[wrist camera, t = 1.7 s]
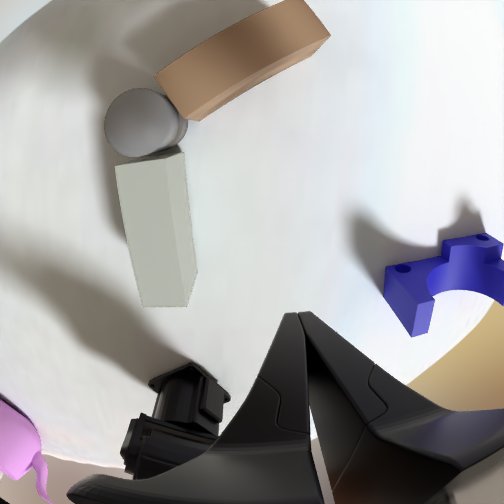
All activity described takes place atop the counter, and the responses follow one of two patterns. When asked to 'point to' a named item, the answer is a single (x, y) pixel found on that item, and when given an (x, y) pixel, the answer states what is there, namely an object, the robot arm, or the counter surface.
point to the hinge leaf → (153, 197)
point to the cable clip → (444, 278)
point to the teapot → (21, 448)
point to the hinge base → (240, 59)
